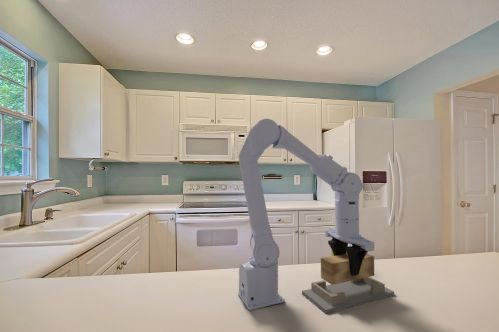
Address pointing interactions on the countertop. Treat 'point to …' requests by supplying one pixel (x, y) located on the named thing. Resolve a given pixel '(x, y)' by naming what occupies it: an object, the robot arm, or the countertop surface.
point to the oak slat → (344, 269)
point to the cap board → (345, 293)
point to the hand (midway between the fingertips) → (347, 271)
